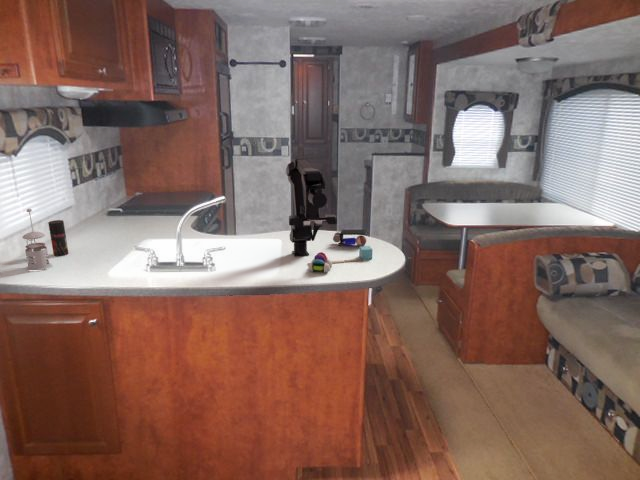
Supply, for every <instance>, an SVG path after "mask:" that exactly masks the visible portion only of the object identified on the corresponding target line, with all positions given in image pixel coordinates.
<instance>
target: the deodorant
mask: <svg viewBox="0 0 640 480" xmlns="http://www.w3.org/2000/svg"><path fill="white" fill-rule="evenodd" d="M48 230H49V235H50V241H51V246H52V253H53V256H54V257H65V256H67V255H68V254H69V246H68V241H67V235H66V228H65V223H64V220H63V219H57V220H56V219H55V220H51V221H48Z"/></svg>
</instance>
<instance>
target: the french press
mask: <svg viewBox="0 0 640 480" xmlns="http://www.w3.org/2000/svg"><path fill="white" fill-rule="evenodd" d="M31 212H33V209H32V208H27V209H26V213H29V219H30V224H31V231H30V232H27V233H26V234H24V235H23V236H22V237H21V238H22V239H23V240H27V241H29V242H30V243H26V245H25V251H24V252H25V256H26V261H27V267H26V269H27V270H43V271H45V270H44V269H46V270H48V269H47V268H49V269H51V268H52V267H53V264H52V263H50V259H49V253H48V247H47V246H46V243H44V242H36V240H37V239H41V238H44V237H45V236H46V234H45V233H44V232H40V231H34V228H33V223H32V222H33V221H32V217H31ZM33 241H34V242H33ZM32 242H33V243H32ZM50 267H51V268H50Z"/></svg>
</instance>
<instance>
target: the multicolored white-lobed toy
mask: <svg viewBox="0 0 640 480" xmlns="http://www.w3.org/2000/svg"><path fill="white" fill-rule="evenodd" d="M331 261H332V260H330V259H328V256H327V255H326V253H324V252H323V251H322V252H317V253H316V254H315V255H314V257H313V259H312V260H311V262H309V263H310V264H309V265H308V270H309V271H310V272H312V273H313V272H314V271H323V273H325V274H327V273H328V272H330V269H331V268H332V267H333V264H332V262H331Z"/></svg>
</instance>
